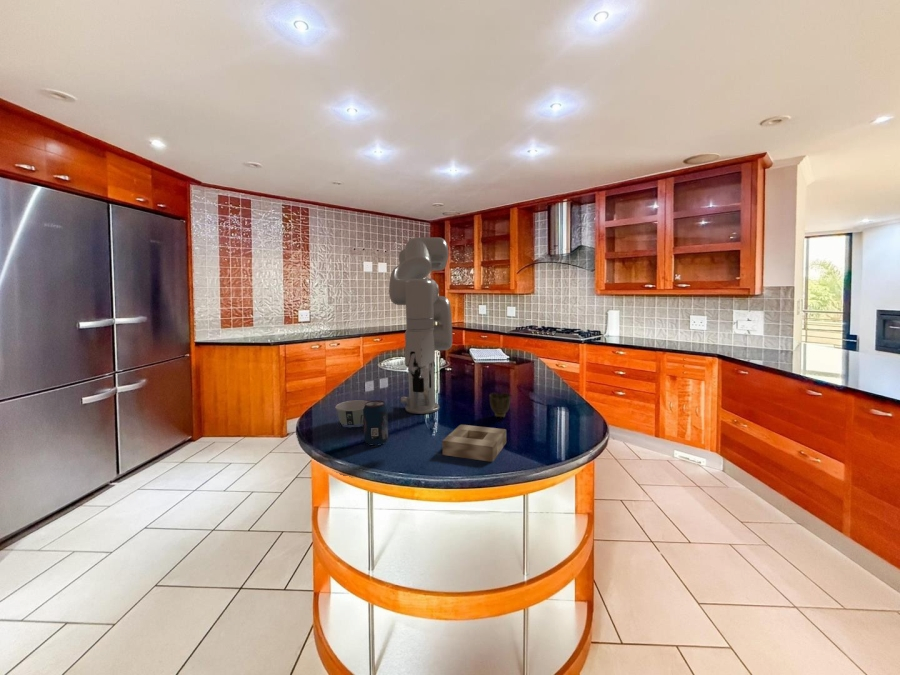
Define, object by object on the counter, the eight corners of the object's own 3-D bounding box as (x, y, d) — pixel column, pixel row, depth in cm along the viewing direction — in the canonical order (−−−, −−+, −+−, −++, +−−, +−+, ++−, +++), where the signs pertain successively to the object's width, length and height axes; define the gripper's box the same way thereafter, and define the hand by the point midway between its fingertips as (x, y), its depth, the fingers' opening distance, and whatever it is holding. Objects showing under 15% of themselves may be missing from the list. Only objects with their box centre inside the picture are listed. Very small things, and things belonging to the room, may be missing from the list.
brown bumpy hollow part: (510, 413, 145) (510, 391, 144) (511, 420, 137) (511, 397, 136) (489, 413, 145) (489, 391, 144) (489, 420, 138) (489, 397, 137)
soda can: (366, 438, 123) (364, 400, 122) (389, 437, 123) (388, 399, 122) (362, 447, 116) (360, 406, 115) (387, 446, 116) (385, 405, 115)
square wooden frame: (442, 454, 110) (442, 440, 109) (460, 437, 122) (460, 424, 122) (492, 461, 104) (492, 446, 104) (506, 442, 117) (506, 429, 117)
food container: (343, 417, 145) (342, 400, 144) (376, 418, 143) (375, 400, 143) (330, 429, 133) (329, 409, 132) (366, 429, 131) (365, 410, 131)
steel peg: (413, 405, 113) (411, 356, 111) (419, 401, 117) (418, 353, 115) (426, 406, 112) (424, 356, 110) (432, 402, 115) (430, 354, 113)
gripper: (421, 321, 120) (423, 381, 123) (392, 327, 105) (395, 396, 107) (444, 321, 117) (446, 383, 120) (419, 328, 102) (421, 399, 105)
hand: (422, 389), depth 114 cm, fingers closed on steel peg, 4 cm apart
